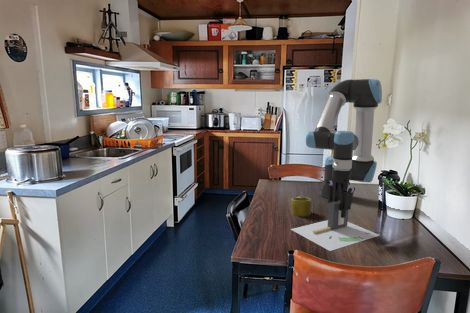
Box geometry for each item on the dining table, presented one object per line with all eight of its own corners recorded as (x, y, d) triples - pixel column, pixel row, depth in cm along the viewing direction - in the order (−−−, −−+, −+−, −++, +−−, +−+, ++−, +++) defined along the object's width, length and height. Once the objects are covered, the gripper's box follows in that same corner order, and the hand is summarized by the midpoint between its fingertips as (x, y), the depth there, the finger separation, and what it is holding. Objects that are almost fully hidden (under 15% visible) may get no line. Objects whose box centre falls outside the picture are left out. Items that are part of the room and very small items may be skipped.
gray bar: (342, 223, 141) (344, 199, 139) (347, 225, 139) (349, 201, 137) (311, 231, 132) (313, 206, 130) (316, 234, 130) (317, 207, 128)
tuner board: (337, 219, 150) (337, 217, 149) (379, 237, 131) (380, 234, 131) (290, 231, 136) (290, 228, 135) (329, 253, 117) (329, 250, 117)
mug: (315, 216, 148) (309, 195, 148) (293, 221, 150) (287, 200, 151) (315, 212, 159) (310, 192, 160) (295, 217, 162) (290, 197, 163)
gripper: (321, 166, 138) (317, 218, 143) (350, 173, 125) (346, 231, 129) (333, 164, 142) (330, 215, 146) (363, 171, 129) (358, 227, 133)
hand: (337, 222), depth 138 cm, fingers closed on gray bar, 3 cm apart
